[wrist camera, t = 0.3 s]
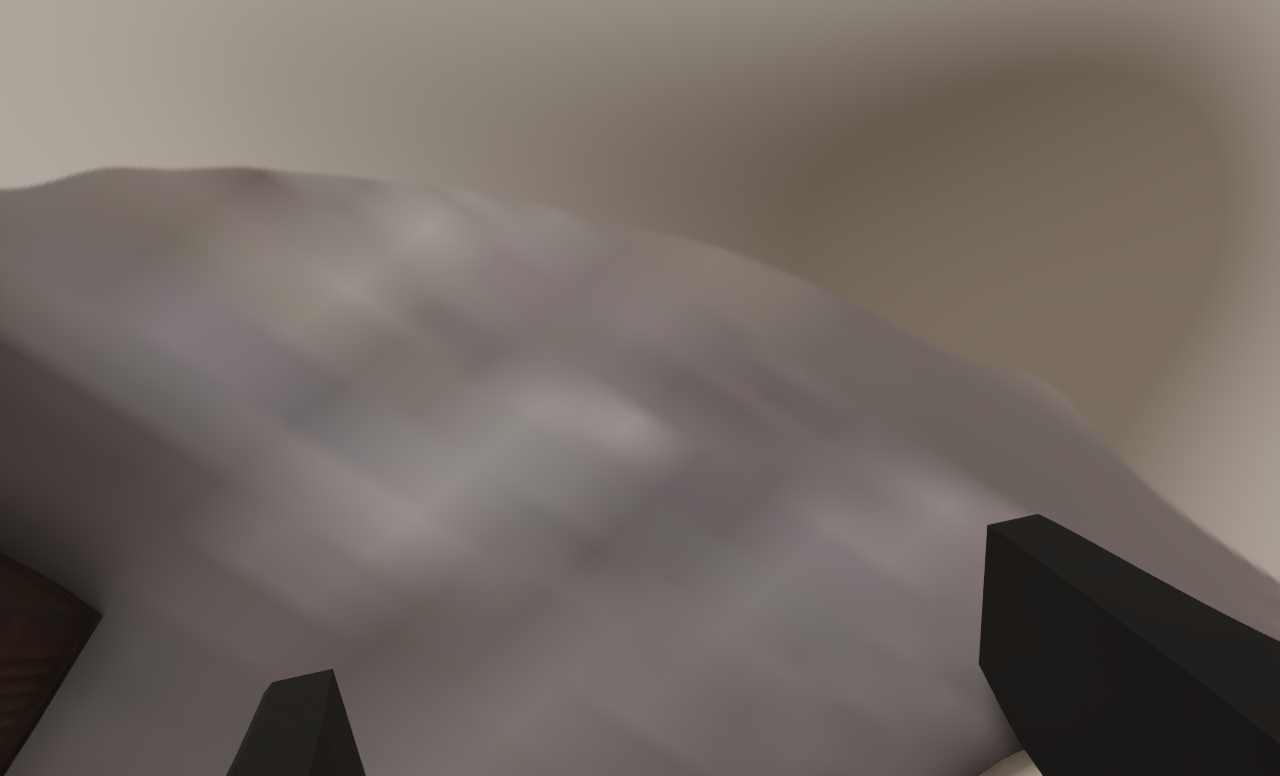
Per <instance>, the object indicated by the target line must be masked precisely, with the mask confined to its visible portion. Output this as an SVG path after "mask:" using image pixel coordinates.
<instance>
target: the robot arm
mask: <svg viewBox="0 0 1280 776" xmlns="http://www.w3.org/2000/svg"><path fill="white" fill-rule="evenodd" d="M979 665H980V667H981V669H982V671H983V673H984V675H985V677H986V679H987V681H988V683H989V685H990V687H991V689H992V691H993V693H994V695H995V697H996V699H997V701H998V703H999V705H1000V707H1001V709H1002V711H1003V712H1004V714H1005V716H1006V718H1007V720H1008V722H1009V723H1010V725H1011V727H1012V729H1013V731H1014V733H1015V735H1016V736H1017V738H1018V740H1019V742H1020V744H1021V745H1022V747H1023V748H1024V750H1025V751H1026V753H1027V754H1028V756H1029V757H1030V758H1031V760H1032V761H1033V763H1034V764H1035V766H1036V767H1037V769H1038V770H1039V772H1040V773H1041V774H1042V776H1280V641H1278V640H1276V639H1273V638H1271V637H1269V636H1267V635H1265V634H1263V633H1261V632H1259V631H1257V630H1255V629H1253V628H1251V627H1249V626H1247V625H1245V624H1243V623H1241V622H1239V621H1237V620H1235V619H1233V618H1231V617H1229V616H1227V615H1225V614H1223V613H1221V612H1219V611H1218V610H1216V609H1214V608H1212V607H1210V606H1208V605H1206V604H1204V603H1202V602H1200V601H1198V600H1197V599H1195V598H1193V597H1191V596H1189V595H1187V594H1185V593H1183V592H1182V591H1180V590H1178V589H1176V588H1174V587H1172V586H1170V585H1169V584H1167V583H1165V582H1163V581H1161V580H1159V579H1158V578H1156V577H1154V576H1152V575H1150V574H1149V573H1147V572H1145V571H1143V570H1141V569H1139V568H1138V567H1136V566H1134V565H1132V564H1130V563H1129V562H1127V561H1125V560H1123V559H1121V558H1120V557H1118V556H1116V555H1114V554H1112V553H1111V552H1109V551H1107V550H1105V549H1103V548H1102V547H1100V546H1098V545H1096V544H1094V543H1093V542H1091V541H1089V540H1087V539H1085V538H1083V537H1082V536H1080V535H1078V534H1076V533H1074V532H1072V531H1071V530H1069V529H1067V528H1065V527H1063V526H1061V525H1059V524H1057V523H1055V522H1053V521H1051V520H1049V519H1047V518H1045V517H1043V516H1041V515H1039V514H1036V515H1031V516H1027V517H1022V518H1018V519H1013V520H1009V521H1004V522H1000V523H995V524H991V525H987V540H986V556H985V573H984V589H983V605H982V621H981V638H980V654H979ZM226 776H366V775H365V772H364V769H363V765H362V762H361V759H360V756H359V752H358V749H357V746H356V743H355V740H354V736H353V733H352V730H351V727H350V723H349V720H348V717H347V714H346V710H345V707H344V704H343V701H342V698H341V694H340V691H339V688H338V685H337V681H336V678H335V675H334V672H333V669H330V670H326V671H321V672H317V673H312V674H308V675H303V676H299V677H294V678H289V679H285V680H280V681H276V682H272V684H271V685H270V686H269V687H268V689H267V690H266V691H265V693H264V694H263V697H262V699H261V701H260V704H259V706H258V708H257V710H256V713H255V715H254V717H253V719H252V722H251V724H250V726H249V728H248V731H247V733H246V735H245V737H244V739H243V741H242V744H241V746H240V748H239V750H238V752H237V754H236V756H235V759H234V761H233V763H232V765H231V767H230V769H229V771H228V773H227V775H226Z"/></svg>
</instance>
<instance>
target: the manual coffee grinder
mask: <svg viewBox="0 0 1280 776" xmlns="http://www.w3.org/2000/svg"><path fill="white" fill-rule="evenodd" d="M100 619H101V616H100V615H99V614H97V613H96V612H94V611H93V610H92V609H90V608H89V607H87V606H86V605H84V604H83V603H82V602H80V601H79V600H77V599H76V598H75V597H73V596H72V595H70V594H69V593H68V592H66V591H65V590H63V589H62V588H60V587H59V586H58V585H56V584H55V583H53V582H52V581H50V580H48V579H46V578H44V577H42V576H40V575H38V574H36V573H34V572H33V571H31V570H29V569H27V568H26V567H24V566H22V565H20V564H19V563H17V562H15V561H13V560H12V559H10V558H8V557H6V556H5V555H3V554H1V553H0V776H4V775H5V773H6V772H7V770H8V769H9V767H10V766H11V764H12V762H13V761H14V759H15V758H16V756H17V755H18V753H19V752H20V750H21V749H22V747H23V745H24V744H25V742H26V741H27V739H28V738H29V736H30V735H31V733H32V732H33V730H34V728H35V727H36V725H37V724H38V722H39V720H40V719H41V717H42V715H43V714H44V712H45V710H46V709H47V707H48V705H49V704H50V702H51V700H52V699H53V697H54V695H55V694H56V692H57V690H58V689H59V687H60V685H61V684H62V682H63V680H64V679H65V677H66V675H67V674H68V672H69V670H70V669H71V667H72V665H73V664H74V662H75V660H76V659H77V657H78V655H79V654H80V652H81V650H82V649H83V647H84V645H85V644H86V642H87V640H88V639H89V637H90V635H91V634H92V632H93V630H94V629H95V627H96V625H97V624H98V622H99V620H100Z"/></svg>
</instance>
